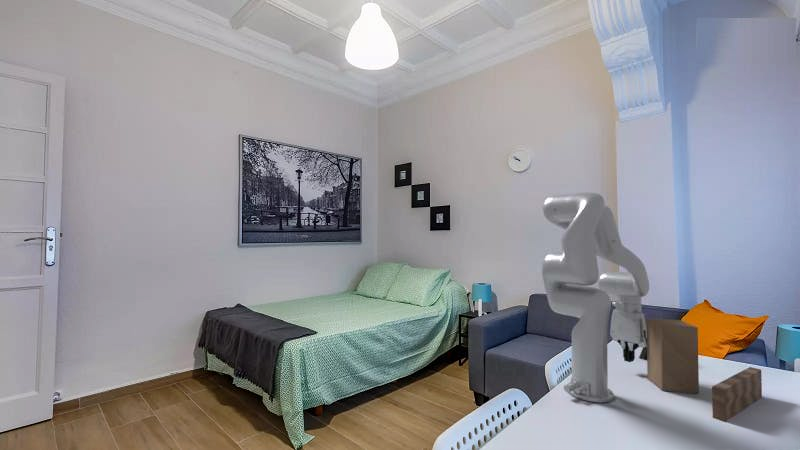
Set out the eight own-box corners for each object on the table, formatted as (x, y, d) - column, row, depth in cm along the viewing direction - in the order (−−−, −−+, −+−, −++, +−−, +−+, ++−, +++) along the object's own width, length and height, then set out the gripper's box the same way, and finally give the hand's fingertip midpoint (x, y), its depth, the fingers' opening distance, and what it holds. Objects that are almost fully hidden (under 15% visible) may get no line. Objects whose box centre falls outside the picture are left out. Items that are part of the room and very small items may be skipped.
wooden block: (699, 394, 108) (698, 327, 109) (662, 391, 110) (661, 325, 111) (681, 381, 118) (680, 319, 119) (646, 378, 120) (646, 317, 121)
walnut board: (724, 421, 92) (724, 389, 92) (712, 417, 94) (712, 386, 95) (761, 397, 107) (761, 369, 107) (750, 393, 109) (749, 367, 109)
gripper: (600, 305, 130) (601, 356, 130) (647, 312, 117) (647, 369, 117) (612, 303, 134) (612, 353, 133) (657, 310, 121) (658, 365, 121)
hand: (628, 360), depth 125 cm, fingers closed
